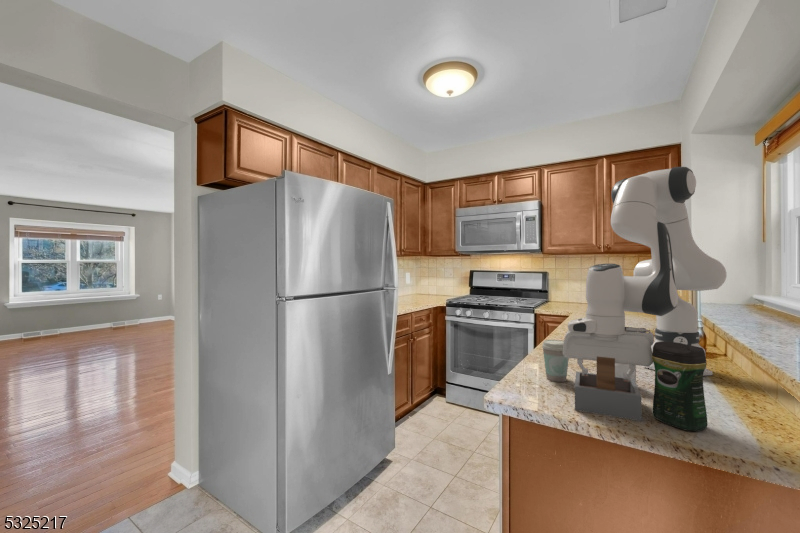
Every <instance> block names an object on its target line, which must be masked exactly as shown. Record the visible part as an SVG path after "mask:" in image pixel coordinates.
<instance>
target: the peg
mask: <svg viewBox="0 0 800 533" xmlns="http://www.w3.org/2000/svg"><path fill="white" fill-rule="evenodd" d="M596 374H597V388H599V389H606V390H613V391H615V358H607V357H597V361H596Z"/></svg>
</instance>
